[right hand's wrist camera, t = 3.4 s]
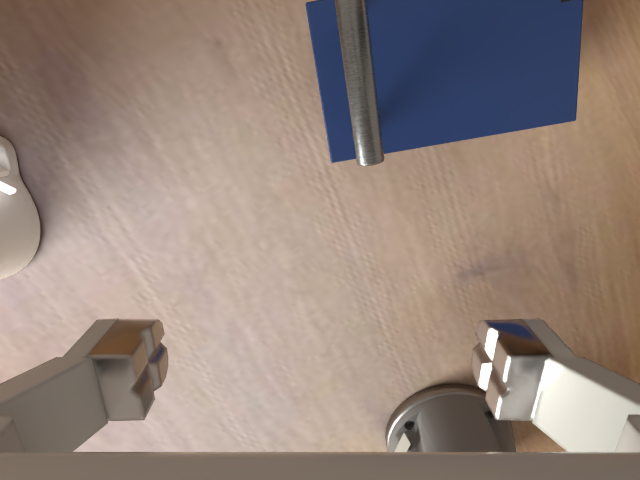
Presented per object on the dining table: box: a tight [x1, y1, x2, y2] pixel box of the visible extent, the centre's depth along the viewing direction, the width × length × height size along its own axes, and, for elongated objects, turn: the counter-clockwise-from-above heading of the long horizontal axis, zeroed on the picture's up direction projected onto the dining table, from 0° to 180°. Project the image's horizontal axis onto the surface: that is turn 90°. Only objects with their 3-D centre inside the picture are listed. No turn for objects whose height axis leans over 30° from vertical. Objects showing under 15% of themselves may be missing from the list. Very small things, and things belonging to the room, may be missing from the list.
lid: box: [306, 0, 583, 166], centre depth 23 cm, size 17×10×8 cm, turn 100°
